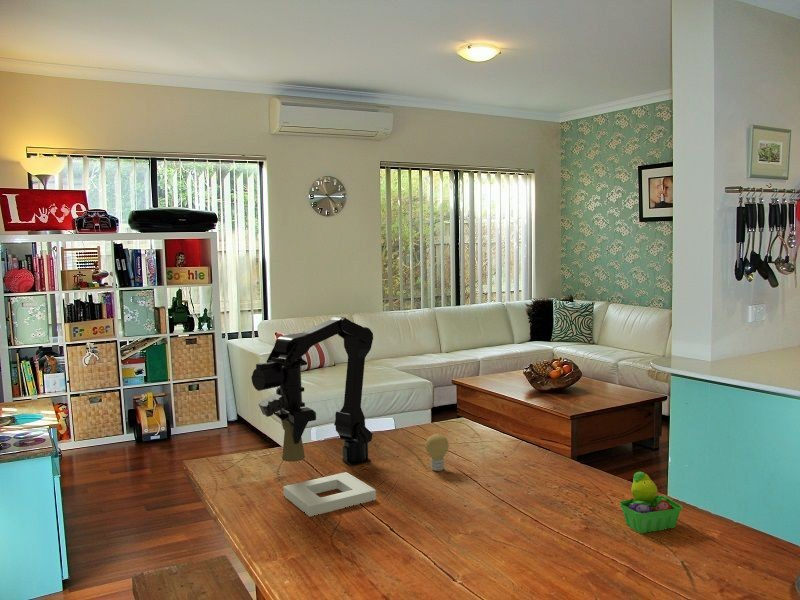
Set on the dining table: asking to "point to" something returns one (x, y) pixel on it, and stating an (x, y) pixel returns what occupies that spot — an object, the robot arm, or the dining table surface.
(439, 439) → the light bulb
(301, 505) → the socket board
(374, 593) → the dining table surface
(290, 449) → the olive green peg
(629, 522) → the fruit basket
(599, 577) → the dining table surface
